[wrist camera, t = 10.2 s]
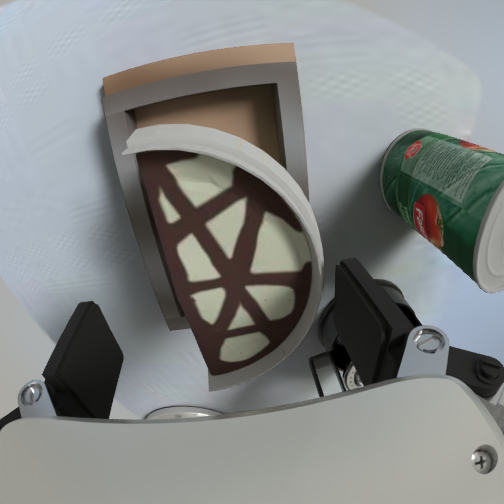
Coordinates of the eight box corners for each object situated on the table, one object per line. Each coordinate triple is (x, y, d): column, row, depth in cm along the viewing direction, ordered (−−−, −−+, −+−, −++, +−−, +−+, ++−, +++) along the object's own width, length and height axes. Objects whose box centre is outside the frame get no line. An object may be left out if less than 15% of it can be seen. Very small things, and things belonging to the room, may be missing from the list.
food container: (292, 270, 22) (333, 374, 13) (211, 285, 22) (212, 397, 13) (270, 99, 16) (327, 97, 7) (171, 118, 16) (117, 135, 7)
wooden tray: (309, 298, 25) (318, 321, 22) (172, 320, 25) (169, 345, 22) (289, 45, 15) (302, 36, 13) (107, 78, 15) (89, 76, 12)
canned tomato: (367, 210, 22) (454, 293, 12) (393, 114, 18) (509, 144, 8) (435, 226, 23) (515, 294, 13) (460, 146, 19) (558, 188, 10)
